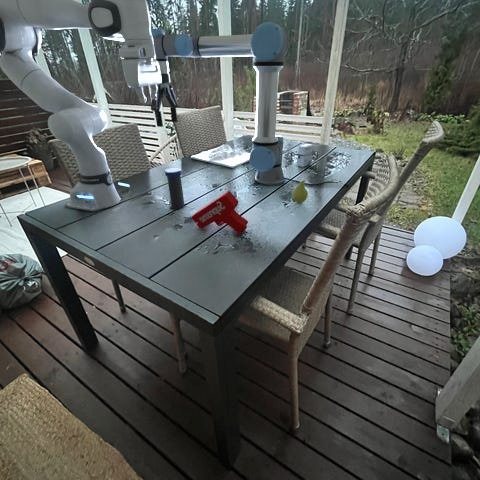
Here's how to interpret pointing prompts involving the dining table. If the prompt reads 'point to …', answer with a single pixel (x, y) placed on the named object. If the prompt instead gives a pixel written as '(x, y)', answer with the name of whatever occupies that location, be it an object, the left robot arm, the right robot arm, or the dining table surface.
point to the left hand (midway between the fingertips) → (149, 100)
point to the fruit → (300, 192)
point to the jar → (176, 192)
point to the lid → (173, 172)
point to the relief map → (224, 156)
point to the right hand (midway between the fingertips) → (167, 124)
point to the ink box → (304, 154)
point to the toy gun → (221, 214)
